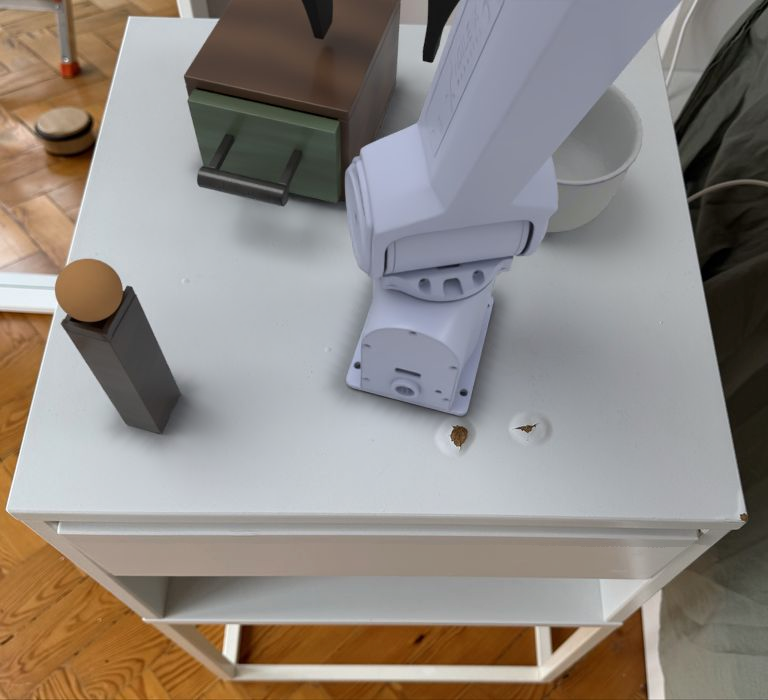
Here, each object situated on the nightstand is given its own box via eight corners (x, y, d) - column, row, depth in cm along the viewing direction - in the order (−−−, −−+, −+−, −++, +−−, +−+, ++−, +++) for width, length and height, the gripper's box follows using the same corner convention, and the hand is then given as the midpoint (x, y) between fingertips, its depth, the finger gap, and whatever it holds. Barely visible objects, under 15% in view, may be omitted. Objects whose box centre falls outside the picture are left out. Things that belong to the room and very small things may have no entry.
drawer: (317, 252, 51) (312, 184, 45) (179, 218, 52) (157, 148, 46) (382, 93, 60) (385, 19, 54) (262, 67, 61) (252, -8, 55)
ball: (113, 340, 35) (94, 305, 32) (56, 325, 35) (32, 289, 33) (140, 291, 36) (123, 254, 34) (85, 277, 37) (64, 239, 34)
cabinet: (349, 202, 55) (348, 112, 47) (205, 168, 56) (182, 75, 49) (396, 85, 62) (401, -9, 54) (266, 58, 63) (254, -38, 56)
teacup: (605, 154, 58) (639, 71, 51) (614, 262, 53) (652, 184, 46) (432, 138, 59) (442, 52, 52) (423, 243, 53) (432, 163, 46)
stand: (161, 434, 45) (105, 335, 35) (125, 424, 45) (60, 323, 35) (181, 393, 46) (133, 286, 36) (146, 383, 47) (89, 275, 37)
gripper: (533, -198, 39) (492, 27, 51) (278, -242, 41) (295, -14, 52) (508, -134, 36) (470, 92, 47) (230, -184, 37) (260, 46, 49)
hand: (376, 41), depth 50 cm, fingers open, 7 cm apart
